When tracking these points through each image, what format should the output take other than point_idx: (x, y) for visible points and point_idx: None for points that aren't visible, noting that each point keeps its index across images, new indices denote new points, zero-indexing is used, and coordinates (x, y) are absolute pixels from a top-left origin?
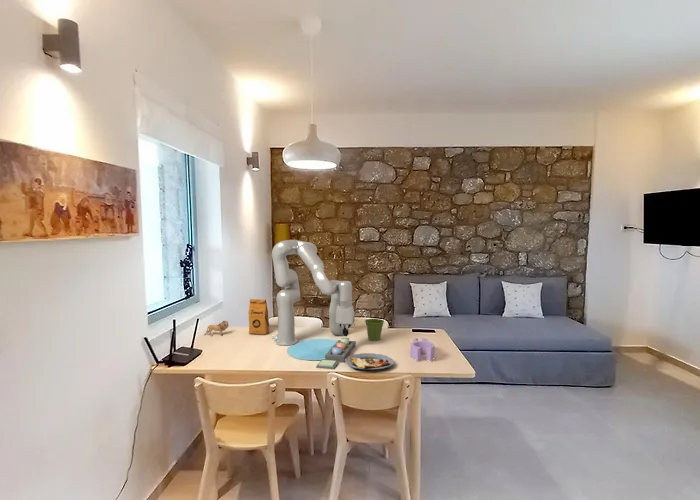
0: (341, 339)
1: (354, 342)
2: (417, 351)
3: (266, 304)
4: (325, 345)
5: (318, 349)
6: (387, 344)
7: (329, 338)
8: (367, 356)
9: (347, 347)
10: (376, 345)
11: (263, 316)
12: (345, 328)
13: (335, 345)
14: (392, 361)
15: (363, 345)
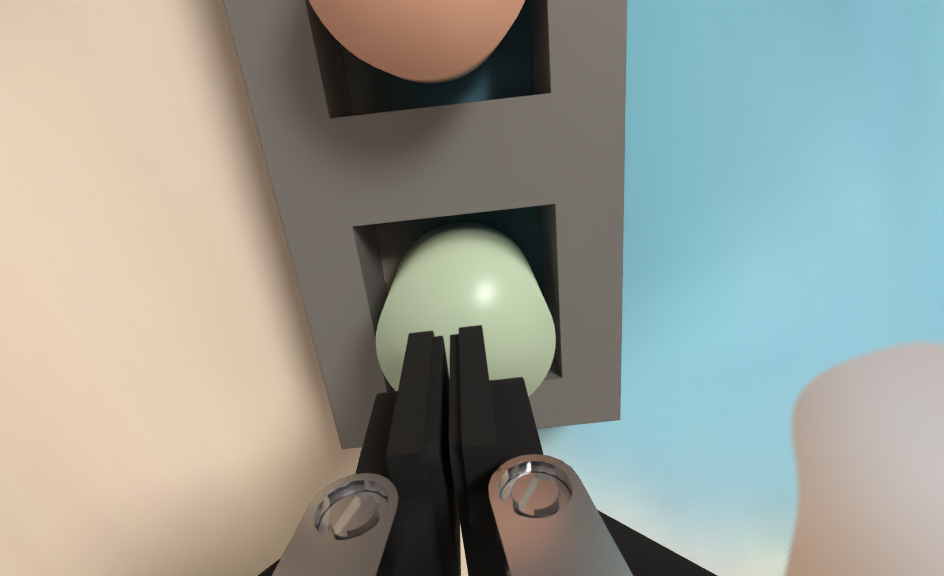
0: (521, 278)
1: (328, 388)
2: None
3: None
4: (777, 310)
5: (863, 83)
6: (43, 571)
7: (769, 560)
8: None
9: (309, 55)
10: (135, 508)
11: None
12: (473, 564)
13: (591, 108)
14: None
15: (282, 462)
